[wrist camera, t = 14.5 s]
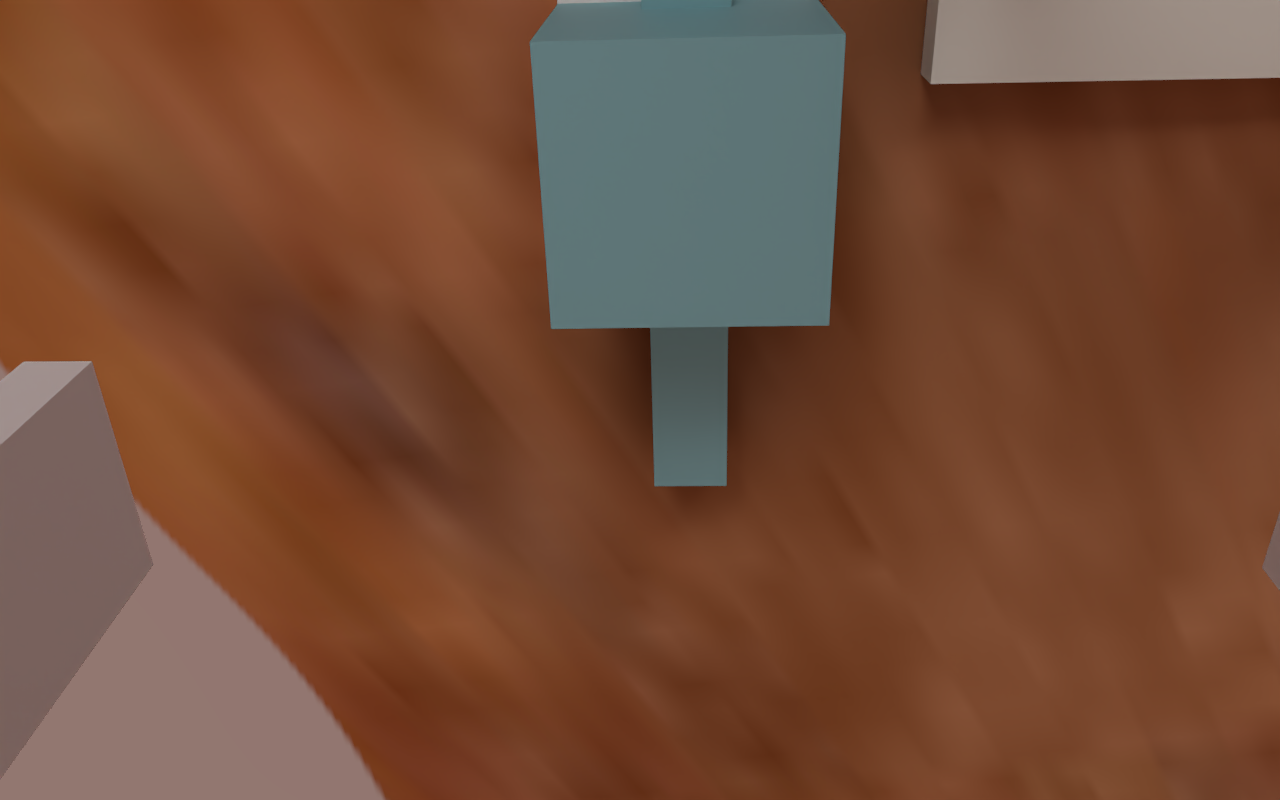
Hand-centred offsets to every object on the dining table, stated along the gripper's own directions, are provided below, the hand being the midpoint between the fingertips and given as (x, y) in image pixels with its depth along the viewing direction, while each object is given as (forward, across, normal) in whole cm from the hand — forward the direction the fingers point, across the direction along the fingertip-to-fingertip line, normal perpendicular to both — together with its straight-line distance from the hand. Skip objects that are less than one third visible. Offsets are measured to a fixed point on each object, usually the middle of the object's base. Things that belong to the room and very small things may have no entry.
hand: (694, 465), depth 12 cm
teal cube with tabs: (+16, 0, 0) cm, 16 cm away
